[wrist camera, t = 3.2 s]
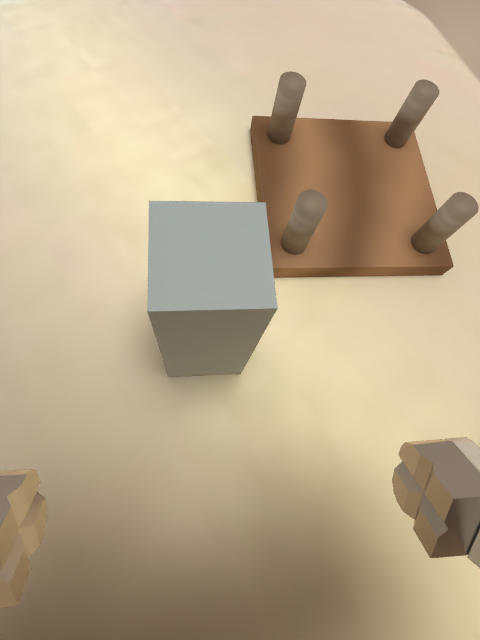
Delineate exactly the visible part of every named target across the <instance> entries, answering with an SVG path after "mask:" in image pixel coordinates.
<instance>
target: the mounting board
mask: <svg viewBox="0 0 480 640" xmlns="http://www.w3.org/2000/svg"><path fill="white" fill-rule="evenodd" d="M305 87H306V80H305V78H304V77H303V76H302V75H300V74H298V73H296V72H286V73H283V74H282V75H281V77H280V80H279V85H278V89H277V94H276V98H275V102H274V107H273V111H272V116H271V117H267V116H253V117H252V123H251V129H250V131H251V141H252V151H253V160H254V170H255V180H256V189H257V199H258V202H266V211H267V220H268V229H269V237H270V246H271V255H272V264H273V273H274V277H321V276H396V275H443V274H444V273H445V272H447V271H448V270H449V269H451V268H452V267H453V262H452V259H451V256H450V252H449V249H448V245H447V242H446V239H447V238H449V237H450V236H451V235H452V234H453V233H454V232H456V231H457V230H458V229H459V228H460V227H461V226H463V225H464V224H465V223H466V222H467V221H468V220H470V219H471V218H472V217H473V216H474V215H475V214H476V213H477V212H478V204H477V202H476V200H475V199H474V198H473V197H472V196H471V195H469V194H467V193H463V192H457V193H455V194H453V195H452V196H451V197H450V198H449V199H448V200H447V201H446V202H445V203H444V204H443V205H442V206H441V207H440V208H439V209H438V210H437V208H436V205H435V201H434V198H433V194H432V191H431V188H430V184H429V181H428V177H427V174H426V171H425V167H424V164H423V160H422V157H421V154H420V150H419V147H418V143H417V140H416V137H415V133H414V131H415V129H416V128H417V126H418V125H419V123H420V122H421V120H422V119H423V117H424V116H425V114H426V113H427V111H428V110H429V108H430V107H431V105H432V104H433V102H434V101H435V100H436V98H437V97H438V95H439V89H438V87H437V86H436V85H435V84H434V83H432V82H431V81H428V80H419V81H417V82H416V83H415V85H414V87H413V88H412V90H411V92H410V93H409V95H408V97H407V99H406V100H405V102H404V104H403V105H402V107H401V109H400V110H399V112H398V114H397V115H396V117H395V119H394V120H393V122H381V121H358V120H335V119H313V118H296V117H297V113H298V110H299V107H300V103H301V100H302V97H303V93H304V90H305Z"/></svg>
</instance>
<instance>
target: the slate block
mask: <svg viewBox="0 0 480 640" xmlns="http://www.w3.org/2000/svg"><path fill="white" fill-rule="evenodd" d="M276 310H277V300H276V291H275V282H274V273H273V264H272V255H271V246H270V237H269V229H268V220H267V211H266V202H196V201H149V244H148V314H149V317H150V320H151V323H152V326H153V330H154V333H155V336H156V339H157V342H158V345H159V348H160V351H161V354H162V357H163V360H164V363H165V366H166V369H167V372H168V375H169V377H177V376H199V375H220V374H241V372H242V370H243V369H244V367H245V365H246V363H247V362H248V360H249V358H250V356H251V354H252V353H253V351H254V349H255V347H256V346H257V344H258V342H259V340H260V338H261V337H262V335H263V333H264V331H265V330H266V328H267V326H268V324H269V322H270V321H271V319H272V317H273V315H274V314H275V312H276Z"/></svg>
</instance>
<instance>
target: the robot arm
mask: <svg viewBox="0 0 480 640" xmlns="http://www.w3.org/2000/svg"><path fill="white" fill-rule="evenodd" d="M399 456H400V458H401V460H402V462H401V463H400V464H399V465H398V466H397V467H396V468H395V469H394V474H393V478H392V483H393V491H394V494H395V497H396V500H397V502H398V504H399V506H400V507H401V509H402V511H403V512H405V513H406V514H407V515H409V516H410V517H412V518H413V519H414V526H413V530H414V531H415V533H416V535H417V536H418V538H419V540H420V542H421V543H422V545H423V547H424V548H425V550H426V552H427V553H428V555H429V557H430V558H439V557H451V556H463V555H468V557H467V558H469V559H470V560H471V561H472V562H473V563H474V564H476V565H477V566H478V567H479V568H480V448H479V447H478V446H477V445H476V444H475V443H474V442H473V441H472V440H470V439H468V438H466V437H463V438H450V439H438V440H426V441H414V442H405V443H404V444H403V445H402V446H401V448H400V451H399ZM39 485H40V479H39V476H38V473H37V471H36V470H32V469H31V470H10V471H0V608H4V607H10V606H17V605H18V604H19V601H20V598H21V596H22V593H23V590H24V588H25V585H26V582H27V580H28V577H29V574H30V572H31V569H32V568H31V565H30V562H29V559H28V557H29V556H30V555H31V554H32V553H33V552H34V551H35V550H36V549H37V548H39V547H40V544H41V542H42V539H43V536H44V533H45V528H46V522H47V504H46V500H45V497H44V496H42V495H41V494H39V493H38V492H37V489H38V487H39Z"/></svg>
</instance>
